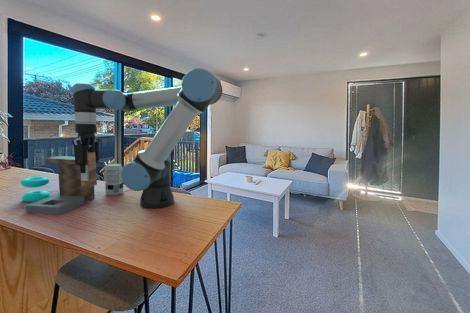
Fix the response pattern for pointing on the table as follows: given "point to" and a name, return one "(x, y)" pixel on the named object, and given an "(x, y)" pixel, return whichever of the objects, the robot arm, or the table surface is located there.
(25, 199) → the donuts
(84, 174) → the robot arm
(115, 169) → the supplement can
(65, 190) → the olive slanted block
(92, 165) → the peg
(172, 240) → the table surface
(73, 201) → the socket
